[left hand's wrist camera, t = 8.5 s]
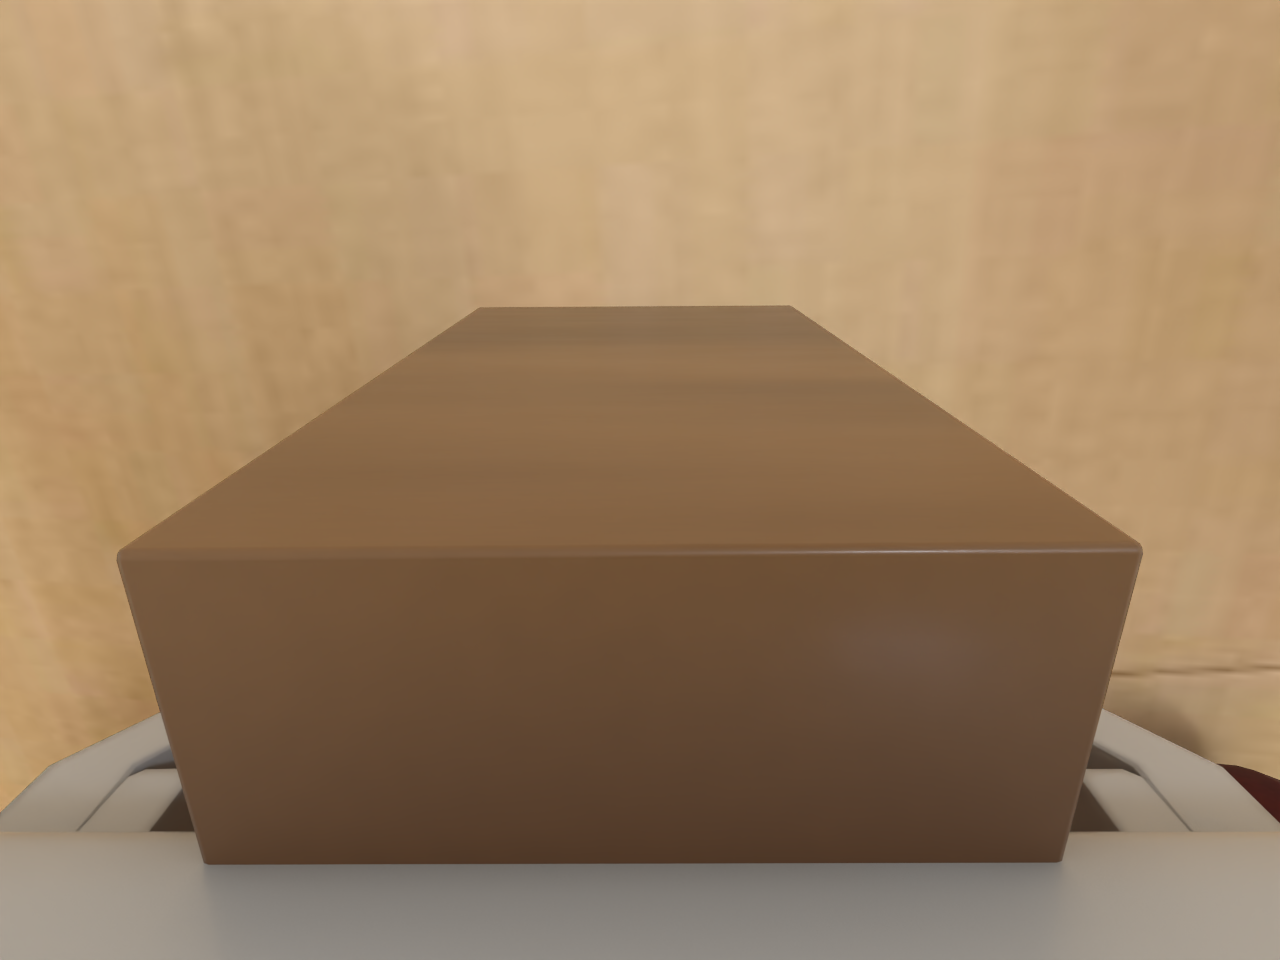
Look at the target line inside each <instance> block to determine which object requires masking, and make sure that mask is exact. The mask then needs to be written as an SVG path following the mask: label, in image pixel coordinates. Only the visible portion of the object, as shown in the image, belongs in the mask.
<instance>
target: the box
mask: <svg viewBox="0 0 1280 960" xmlns="http://www.w3.org/2000/svg"><path fill="white" fill-rule="evenodd" d="M1142 555H1143V552H1142V547H1141V545H1140V543H1138V542H1137V541H1135V540H1134V539H1132V538H1131V537H1130V536H1128V535H1127V534H1125V533H1124V532H1122V531H1121V530H1119V529H1118V528H1116V527H1115V526H1113V525H1112V524H1110V523H1109V522H1108V521H1106V520H1105V519H1103V518H1102V517H1100V516H1099V515H1097V514H1096V513H1094V512H1093V511H1091V510H1090V509H1088V508H1087V507H1085V506H1084V505H1083V504H1081V503H1080V502H1078V501H1077V500H1075V499H1074V498H1072V497H1071V496H1069V495H1068V494H1066V493H1065V492H1063V491H1062V490H1061V489H1059V488H1058V487H1056V486H1055V485H1053V484H1052V483H1050V482H1049V481H1047V480H1046V479H1044V478H1043V477H1041V476H1040V475H1038V474H1037V473H1036V472H1034V471H1033V470H1031V469H1030V468H1028V467H1027V466H1025V465H1024V464H1022V463H1021V462H1019V461H1018V460H1016V459H1015V458H1014V457H1012V456H1011V455H1009V454H1008V453H1006V452H1005V451H1003V450H1002V449H1000V448H999V447H997V446H996V445H994V444H993V443H991V442H990V441H989V440H987V439H986V438H984V437H983V436H981V435H980V434H978V433H977V432H975V431H974V430H972V429H971V428H969V427H968V426H967V425H965V424H964V423H962V422H961V421H959V420H958V419H956V418H955V417H953V416H952V415H950V414H949V413H947V412H946V411H945V410H943V409H942V408H940V407H939V406H937V405H936V404H934V403H933V402H931V401H930V400H928V399H927V398H925V397H924V396H922V395H921V394H920V393H918V392H917V391H915V390H914V389H912V388H911V387H909V386H908V385H906V384H905V383H903V382H902V381H900V380H899V379H898V378H896V377H895V376H893V375H892V374H890V373H889V372H887V371H886V370H884V369H883V368H881V367H880V366H878V365H877V364H875V363H874V362H873V361H871V360H870V359H868V358H867V357H865V356H864V355H862V354H861V353H859V352H858V351H856V350H855V349H853V348H852V347H851V346H849V345H848V344H846V343H845V342H843V341H842V340H840V339H839V338H837V337H836V336H834V335H833V334H831V333H830V332H828V331H827V330H826V329H824V328H823V327H821V326H820V325H818V324H817V323H815V322H814V321H812V320H811V319H809V318H808V317H806V316H805V315H804V314H802V313H801V312H799V311H798V310H796V309H795V308H793V307H792V306H657V307H497V308H478V309H477V310H475V311H474V312H472V313H471V314H469V315H468V316H466V317H465V318H463V319H462V320H460V321H459V322H457V323H456V324H455V325H453V326H452V327H450V328H449V329H447V330H446V331H444V332H443V333H441V334H440V335H438V336H437V337H435V338H434V339H432V340H431V341H429V342H428V343H426V344H425V345H423V346H422V347H420V348H419V349H417V350H416V351H414V352H413V353H412V354H410V355H409V356H407V357H406V358H404V359H403V360H401V361H400V362H398V363H397V364H395V365H394V366H392V367H391V368H389V369H388V370H386V371H385V372H383V373H382V374H380V375H379V376H377V377H376V378H374V379H373V380H371V381H370V382H369V383H367V384H366V385H364V386H363V387H361V388H360V389H358V390H357V391H355V392H354V393H352V394H351V395H349V396H348V397H346V398H345V399H343V400H342V401H340V402H339V403H337V404H336V405H334V406H333V407H331V408H330V409H328V410H327V411H326V412H324V413H323V414H321V415H320V416H318V417H317V418H315V419H314V420H312V421H311V422H309V423H308V424H306V425H305V426H303V427H302V428H300V429H299V430H297V431H296V432H294V433H293V434H291V435H290V436H288V437H287V438H285V439H284V440H282V441H281V442H280V443H278V444H277V445H275V446H274V447H272V448H271V449H269V450H268V451H266V452H265V453H263V454H262V455H260V456H259V457H257V458H256V459H254V460H253V461H251V462H250V463H248V464H247V465H245V466H244V467H242V468H241V469H239V470H238V471H237V472H235V473H234V474H232V475H231V476H229V477H228V478H226V479H225V480H223V481H222V482H220V483H219V484H217V485H216V486H214V487H213V488H211V489H210V490H208V491H207V492H205V493H204V494H202V495H201V496H199V497H198V498H196V499H195V500H194V501H192V502H191V503H189V504H188V505H186V506H185V507H183V508H182V509H180V510H179V511H177V512H176V513H174V514H173V515H171V516H170V517H168V518H167V519H165V520H164V521H162V522H161V523H159V524H158V525H156V526H155V527H153V528H152V529H151V530H149V531H148V532H146V533H145V534H143V535H142V536H140V537H139V538H137V539H136V540H134V541H133V542H131V543H130V544H128V545H127V546H125V547H124V548H122V549H121V550H120V551H119V552H118V554H117V563H118V567H119V570H120V574H121V577H122V581H123V584H124V588H125V591H126V595H127V598H128V602H129V605H130V609H131V612H132V616H133V619H134V622H135V626H136V629H137V633H138V636H139V640H140V643H141V647H142V650H143V654H144V657H145V661H146V664H147V668H148V671H149V675H150V678H151V681H152V685H153V688H154V692H155V695H156V699H157V702H158V706H159V709H160V713H161V716H162V720H163V723H164V727H165V730H166V734H167V737H168V741H169V744H170V747H171V751H172V754H173V758H174V761H175V765H176V768H177V772H178V775H179V779H180V782H181V786H182V789H183V793H184V796H185V800H186V803H187V806H188V810H189V813H190V817H191V820H192V824H193V827H194V831H195V834H196V838H197V841H198V845H199V848H200V852H201V855H202V859H203V862H204V863H205V864H208V865H311V864H715V863H1057V862H1060V861H1062V859H1063V855H1064V851H1065V847H1066V844H1067V840H1068V836H1069V832H1070V828H1071V825H1072V821H1073V817H1074V813H1075V809H1076V806H1077V802H1078V798H1079V794H1080V790H1081V787H1082V783H1083V779H1084V775H1085V771H1086V768H1087V764H1088V760H1089V756H1090V752H1091V749H1092V745H1093V741H1094V737H1095V733H1096V730H1097V726H1098V722H1099V718H1100V714H1101V711H1102V707H1103V703H1104V699H1105V695H1106V692H1107V688H1108V684H1109V680H1110V676H1111V673H1112V669H1113V665H1114V661H1115V657H1116V654H1117V650H1118V646H1119V642H1120V638H1121V635H1122V631H1123V627H1124V623H1125V619H1126V616H1127V612H1128V608H1129V604H1130V600H1131V597H1132V593H1133V589H1134V585H1135V581H1136V578H1137V574H1138V570H1139V566H1140V562H1141V559H1142Z"/></svg>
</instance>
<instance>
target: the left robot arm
mask: <svg viewBox="0 0 1280 960" xmlns="http://www.w3.org/2000/svg"><path fill="white" fill-rule="evenodd" d="M0 960H1280V823H1279V822H1278V821H1277V820H1276V819H1275V818H1274V817H1273V816H1272V815H1271V814H1270V813H1269V812H1268V811H1267V810H1266V809H1265V808H1264V807H1263V806H1262V805H1261V804H1260V803H1259V802H1258V801H1257V800H1256V799H1255V798H1253V797H1252V796H1251V795H1250V794H1249V793H1248V792H1247V791H1246V790H1245V789H1244V788H1243V787H1242V786H1241V785H1240V784H1239V783H1238V782H1237V781H1236V780H1235V779H1234V778H1233V777H1232V776H1231V775H1230V774H1229V773H1228V772H1227V771H1226V770H1225V769H1224V768H1223V767H1221V766H1219V765H1217V764H1215V763H1213V762H1211V761H1209V760H1207V759H1205V758H1203V757H1201V756H1199V755H1197V754H1195V753H1193V752H1191V751H1189V750H1187V749H1185V748H1183V747H1181V746H1178V745H1176V744H1174V743H1172V742H1170V741H1168V740H1166V739H1164V738H1162V737H1160V736H1158V735H1156V734H1154V733H1152V732H1150V731H1148V730H1146V729H1144V728H1142V727H1140V726H1138V725H1136V724H1134V723H1131V722H1129V721H1127V720H1125V719H1123V718H1121V717H1119V716H1117V715H1115V714H1113V713H1111V712H1109V711H1107V710H1105V709H1103V708H1102V711H1101V714H1100V718H1099V722H1098V726H1097V730H1096V733H1095V737H1094V741H1093V745H1092V749H1091V752H1090V756H1089V760H1088V764H1087V768H1086V771H1085V775H1084V779H1083V783H1082V787H1081V790H1080V794H1079V798H1078V802H1077V806H1076V809H1075V813H1074V817H1073V821H1072V825H1071V828H1070V832H1069V836H1068V840H1067V844H1066V847H1065V851H1064V855H1063V859H1062V861H1060V862H1057V863H715V864H311V865H208V864H205V863H204V862H203V859H202V855H201V852H200V848H199V845H198V841H197V838H196V834H195V831H194V827H193V824H192V820H191V817H190V813H189V810H188V806H187V803H186V800H185V796H184V793H183V789H182V786H181V782H180V779H179V775H178V772H177V768H176V765H175V761H174V758H173V754H172V751H171V747H170V744H169V741H168V737H167V734H166V730H165V727H164V723H163V720H162V716H161V713H158V714H155V715H153V716H151V717H149V718H147V719H145V720H143V721H141V722H139V723H137V724H135V725H133V726H131V727H129V728H126V729H124V730H122V731H120V732H118V733H116V734H114V735H112V736H110V737H108V738H106V739H104V740H102V741H100V742H97V743H95V744H93V745H91V746H89V747H87V748H85V749H83V750H81V751H79V752H77V753H75V754H73V755H71V756H69V757H66V758H64V759H62V760H60V761H58V762H56V763H54V764H52V765H50V766H48V767H47V768H46V769H45V770H44V771H43V772H42V773H41V774H40V775H39V776H38V777H37V778H36V779H35V780H34V781H33V782H32V783H31V784H30V785H29V786H28V787H27V788H25V789H24V790H23V791H22V792H21V793H20V794H19V795H18V796H17V797H16V798H15V799H14V800H13V801H12V802H11V803H10V804H9V805H8V806H7V807H6V808H5V809H4V810H3V811H1V812H0Z"/></svg>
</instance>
